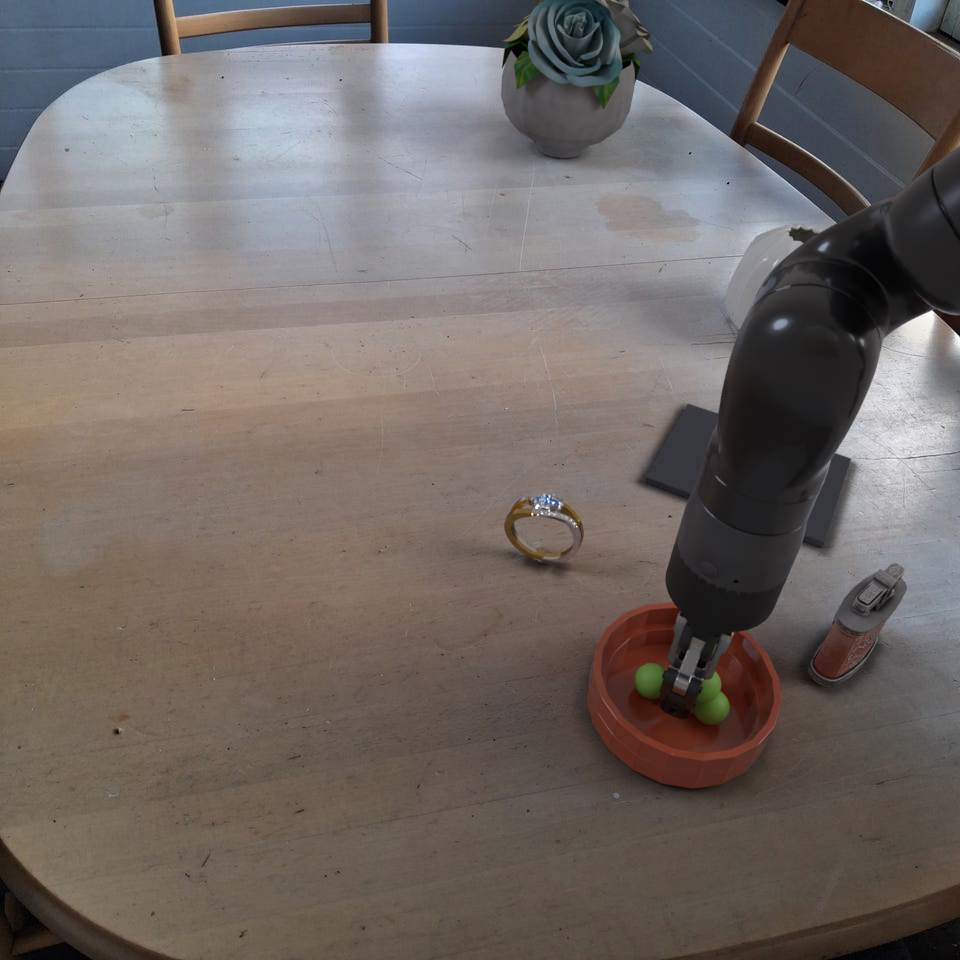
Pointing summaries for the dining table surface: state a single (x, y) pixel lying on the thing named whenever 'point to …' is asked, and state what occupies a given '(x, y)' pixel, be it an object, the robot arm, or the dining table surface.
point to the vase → (761, 266)
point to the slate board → (686, 457)
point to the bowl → (688, 742)
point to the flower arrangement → (572, 73)
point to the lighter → (858, 626)
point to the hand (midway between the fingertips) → (680, 694)
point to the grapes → (710, 701)
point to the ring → (545, 508)
